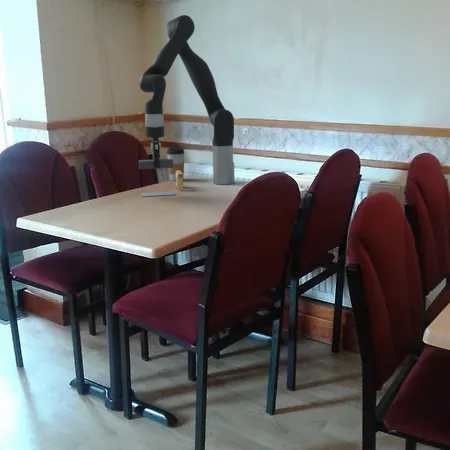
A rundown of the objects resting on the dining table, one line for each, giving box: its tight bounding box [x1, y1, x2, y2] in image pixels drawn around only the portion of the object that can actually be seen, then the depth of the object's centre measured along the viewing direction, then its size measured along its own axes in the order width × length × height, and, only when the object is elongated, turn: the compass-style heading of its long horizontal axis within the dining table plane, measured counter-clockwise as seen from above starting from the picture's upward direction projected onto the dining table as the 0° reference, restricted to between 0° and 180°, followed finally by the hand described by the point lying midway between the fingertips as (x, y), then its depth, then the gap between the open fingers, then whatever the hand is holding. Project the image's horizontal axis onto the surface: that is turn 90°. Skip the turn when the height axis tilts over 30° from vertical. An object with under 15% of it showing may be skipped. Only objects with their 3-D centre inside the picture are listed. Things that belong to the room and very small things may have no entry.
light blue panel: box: [140, 191, 177, 198], centre depth 239 cm, size 14×6×1 cm, turn 100°
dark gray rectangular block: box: [138, 158, 174, 170], centre depth 236 cm, size 14×4×3 cm, turn 100°
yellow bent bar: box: [175, 170, 184, 191], centre depth 250 cm, size 2×10×7 cm, turn 10°
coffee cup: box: [166, 147, 185, 182], centre depth 270 cm, size 8×8×15 cm
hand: (156, 167), depth 236 cm, fingers closed on dark gray rectangular block, 3 cm apart
